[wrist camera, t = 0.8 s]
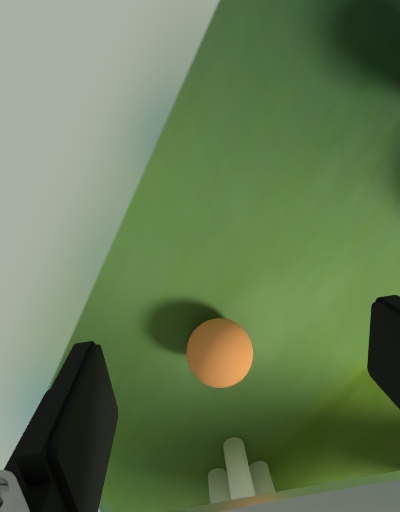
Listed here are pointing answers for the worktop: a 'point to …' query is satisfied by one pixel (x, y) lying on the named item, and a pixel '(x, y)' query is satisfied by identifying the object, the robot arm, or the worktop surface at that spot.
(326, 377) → the worktop surface
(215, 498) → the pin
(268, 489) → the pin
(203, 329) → the brown egg
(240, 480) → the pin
